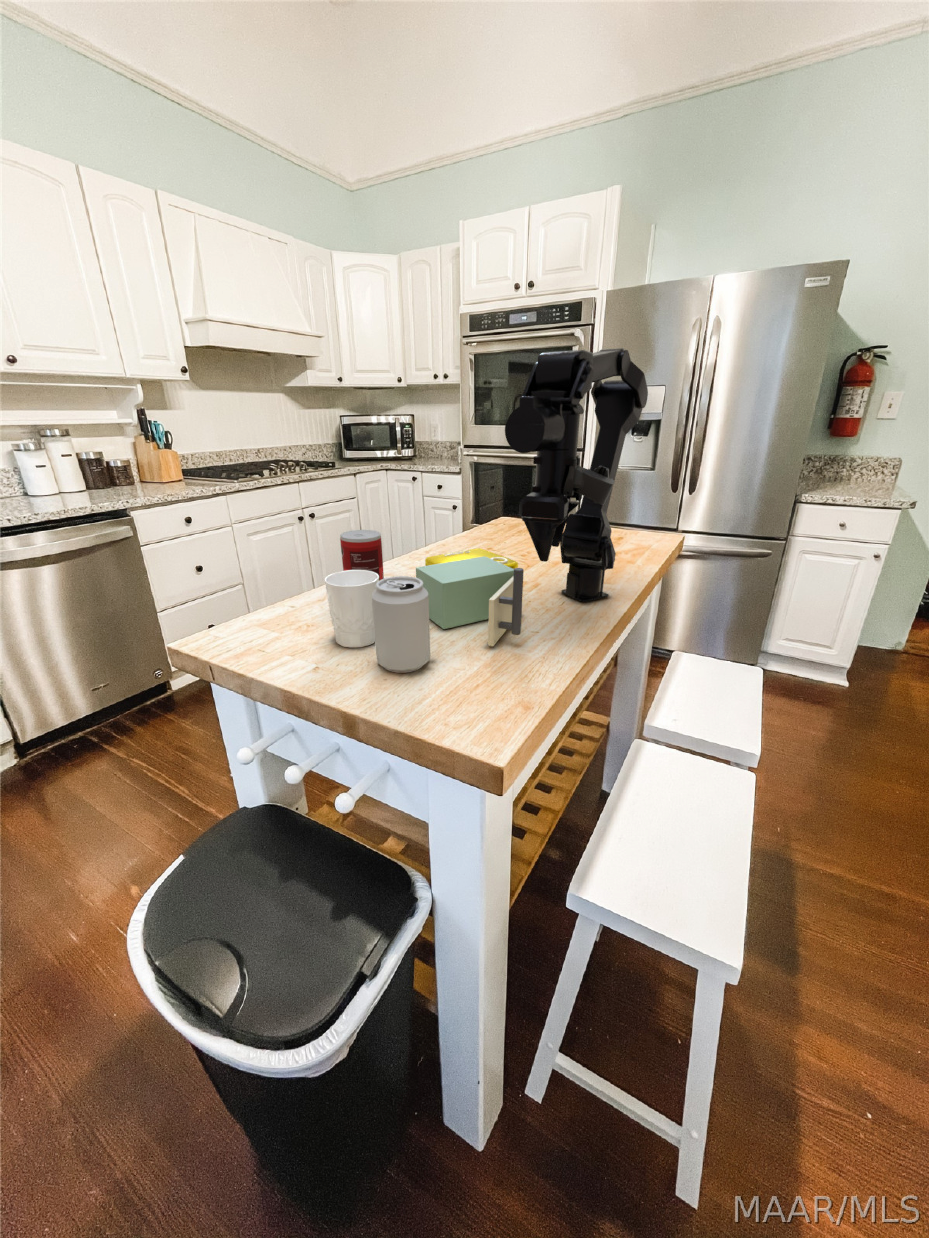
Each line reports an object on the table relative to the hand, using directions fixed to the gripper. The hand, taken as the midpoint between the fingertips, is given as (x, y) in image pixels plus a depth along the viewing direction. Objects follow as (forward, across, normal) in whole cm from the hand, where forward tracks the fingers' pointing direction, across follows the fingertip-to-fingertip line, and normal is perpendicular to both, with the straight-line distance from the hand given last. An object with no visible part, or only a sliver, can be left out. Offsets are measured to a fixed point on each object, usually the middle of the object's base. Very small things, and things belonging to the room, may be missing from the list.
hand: (549, 553), depth 78 cm
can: (+12, -20, +16) cm, 29 cm away
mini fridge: (+12, 0, +14) cm, 19 cm away
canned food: (+12, +5, +37) cm, 40 cm away
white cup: (+12, -16, +26) cm, 33 cm away
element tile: (+12, +18, +19) cm, 29 cm away
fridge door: (+12, -5, +4) cm, 13 cm away
